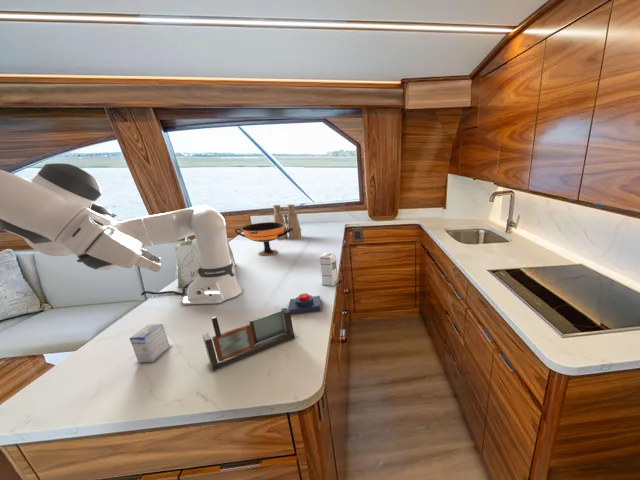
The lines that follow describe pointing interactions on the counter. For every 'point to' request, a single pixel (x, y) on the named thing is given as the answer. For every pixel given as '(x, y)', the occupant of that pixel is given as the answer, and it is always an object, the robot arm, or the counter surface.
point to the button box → (304, 305)
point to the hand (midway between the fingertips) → (159, 265)
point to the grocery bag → (190, 261)
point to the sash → (232, 340)
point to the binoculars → (288, 221)
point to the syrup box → (328, 269)
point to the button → (303, 297)
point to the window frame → (258, 337)
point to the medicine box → (149, 342)
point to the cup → (264, 234)
